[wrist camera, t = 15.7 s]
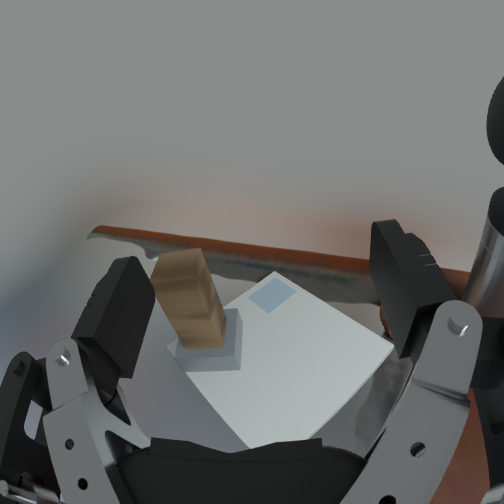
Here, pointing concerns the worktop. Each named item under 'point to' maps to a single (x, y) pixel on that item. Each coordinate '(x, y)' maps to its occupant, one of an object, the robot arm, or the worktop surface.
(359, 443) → the worktop surface
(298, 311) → the base board
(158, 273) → the walnut pillar
